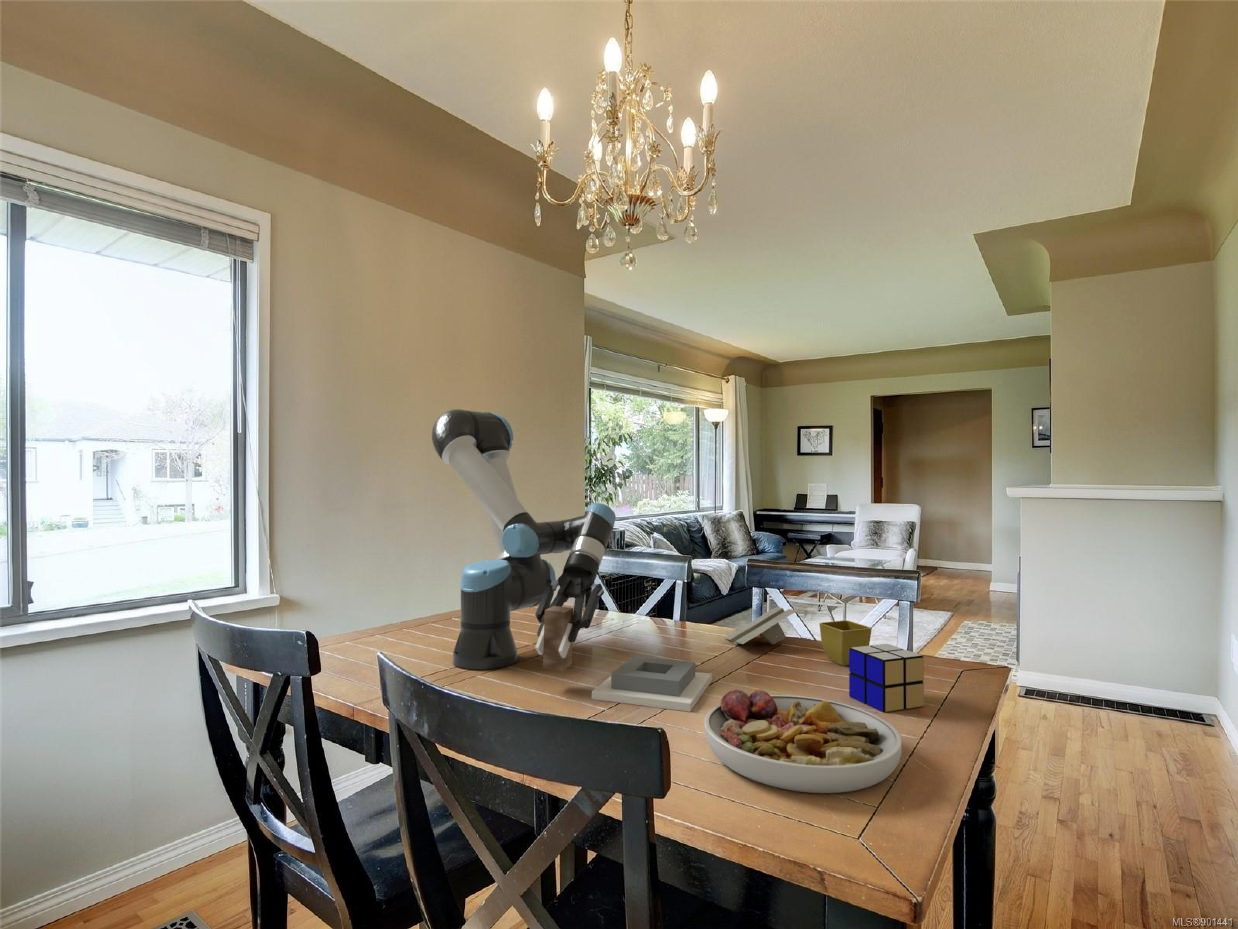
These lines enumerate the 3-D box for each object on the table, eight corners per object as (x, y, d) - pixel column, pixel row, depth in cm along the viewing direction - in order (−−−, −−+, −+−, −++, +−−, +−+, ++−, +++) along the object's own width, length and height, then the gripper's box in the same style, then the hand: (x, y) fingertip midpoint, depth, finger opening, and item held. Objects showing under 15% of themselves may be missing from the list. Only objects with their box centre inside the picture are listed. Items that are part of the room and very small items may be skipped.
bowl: (928, 754, 106) (928, 705, 106) (854, 828, 84) (854, 766, 84) (763, 710, 126) (763, 668, 126) (667, 760, 104) (667, 709, 104)
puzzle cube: (848, 697, 133) (847, 647, 134) (887, 691, 137) (887, 643, 137) (884, 714, 124) (883, 660, 124) (925, 707, 127) (925, 655, 128)
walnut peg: (542, 668, 137) (544, 610, 137) (552, 662, 141) (554, 605, 141) (562, 670, 135) (564, 612, 135) (571, 664, 139) (573, 608, 139)
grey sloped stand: (768, 674, 163) (815, 627, 167) (741, 644, 164) (788, 597, 167) (747, 665, 182) (790, 622, 185) (723, 637, 182) (766, 595, 186)
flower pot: (872, 666, 155) (872, 627, 155) (843, 669, 152) (843, 630, 152) (847, 656, 163) (847, 620, 163) (818, 660, 160) (818, 622, 160)
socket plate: (591, 699, 131) (591, 676, 131) (625, 671, 150) (625, 651, 150) (690, 711, 124) (690, 687, 124) (711, 680, 143) (711, 660, 143)
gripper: (623, 574, 150) (594, 668, 134) (553, 568, 155) (517, 657, 140) (616, 554, 145) (585, 648, 129) (544, 548, 150) (505, 638, 135)
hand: (550, 652), depth 135 cm, fingers closed on walnut peg, 4 cm apart
